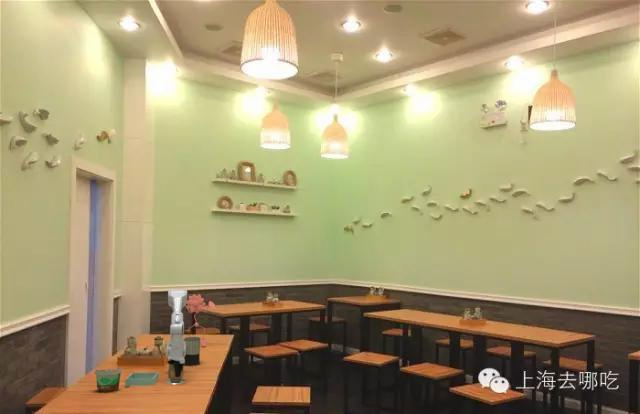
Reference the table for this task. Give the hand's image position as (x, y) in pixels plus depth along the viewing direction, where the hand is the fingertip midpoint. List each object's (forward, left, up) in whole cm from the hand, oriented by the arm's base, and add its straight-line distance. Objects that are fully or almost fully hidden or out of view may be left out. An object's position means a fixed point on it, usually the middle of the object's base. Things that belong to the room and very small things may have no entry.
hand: (175, 375), depth 279 cm
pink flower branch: (-92, -3, -4) cm, 92 cm away
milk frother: (-41, -1, -4) cm, 41 cm away
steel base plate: (0, 0, -4) cm, 4 cm away
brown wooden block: (0, 0, -2) cm, 2 cm away
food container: (+13, -29, -4) cm, 32 cm away
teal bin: (0, -16, -4) cm, 16 cm away
